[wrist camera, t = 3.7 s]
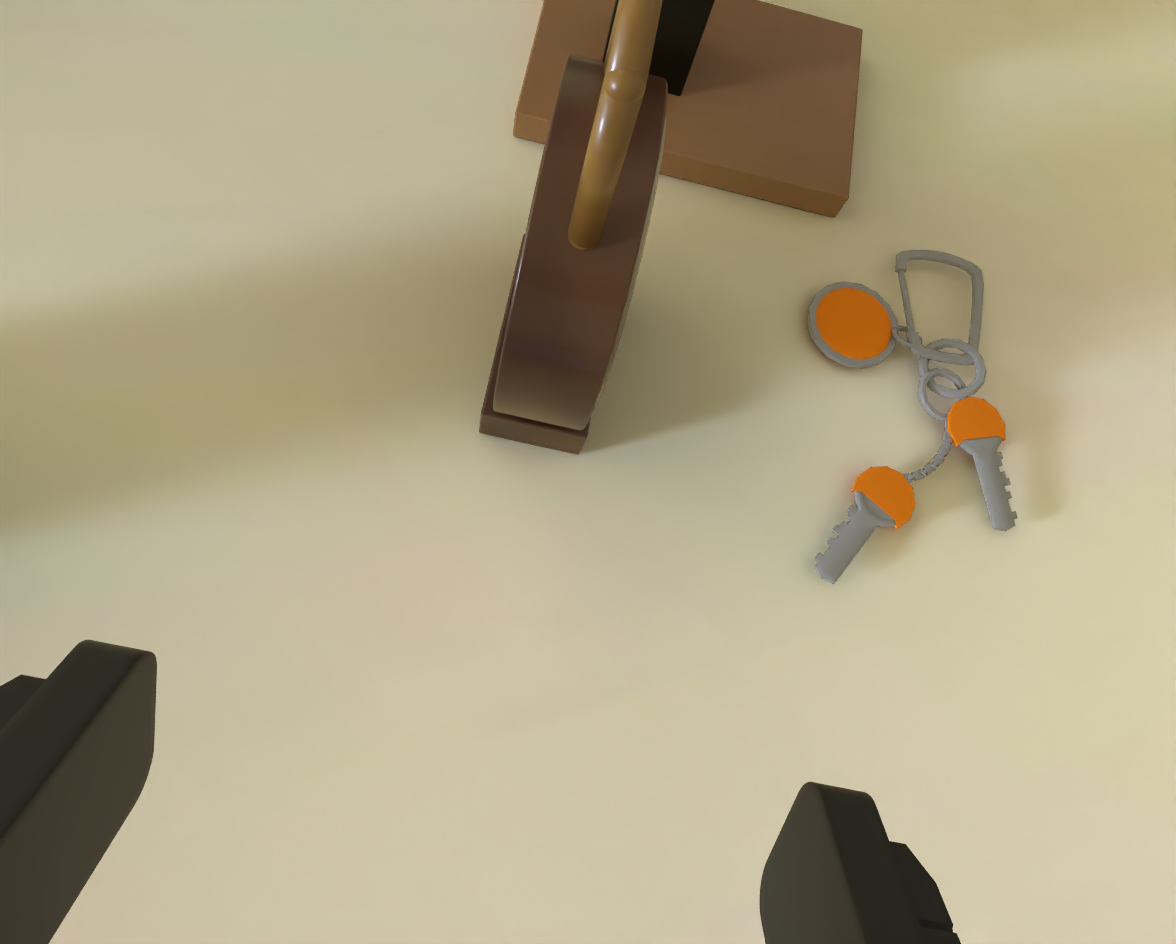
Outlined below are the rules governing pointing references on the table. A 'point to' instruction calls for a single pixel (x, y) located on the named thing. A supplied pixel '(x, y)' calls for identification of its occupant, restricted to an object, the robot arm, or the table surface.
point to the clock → (581, 241)
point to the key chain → (867, 336)
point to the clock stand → (726, 93)
